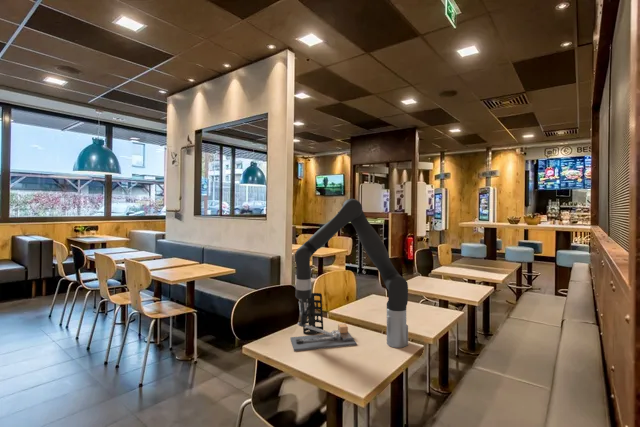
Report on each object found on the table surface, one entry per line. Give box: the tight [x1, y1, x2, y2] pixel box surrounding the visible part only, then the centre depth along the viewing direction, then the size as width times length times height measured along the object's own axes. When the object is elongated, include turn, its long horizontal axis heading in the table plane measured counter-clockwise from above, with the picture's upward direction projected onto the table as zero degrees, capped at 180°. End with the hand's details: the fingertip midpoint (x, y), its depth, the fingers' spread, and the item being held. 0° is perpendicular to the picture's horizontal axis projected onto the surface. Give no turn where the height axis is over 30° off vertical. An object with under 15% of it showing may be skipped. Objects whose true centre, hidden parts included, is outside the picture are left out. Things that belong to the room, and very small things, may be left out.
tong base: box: [296, 329, 354, 344], centre depth 167 cm, size 27×11×3 cm, turn 102°
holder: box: [302, 292, 324, 335], centre depth 179 cm, size 11×8×20 cm
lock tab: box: [337, 323, 349, 333], centre depth 172 cm, size 4×4×3 cm
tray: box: [290, 333, 358, 352], centre depth 166 cm, size 30×14×1 cm, turn 102°
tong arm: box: [297, 321, 334, 336], centre depth 165 cm, size 19×3×1 cm, turn 102°
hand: (303, 323), depth 163 cm, fingers closed
